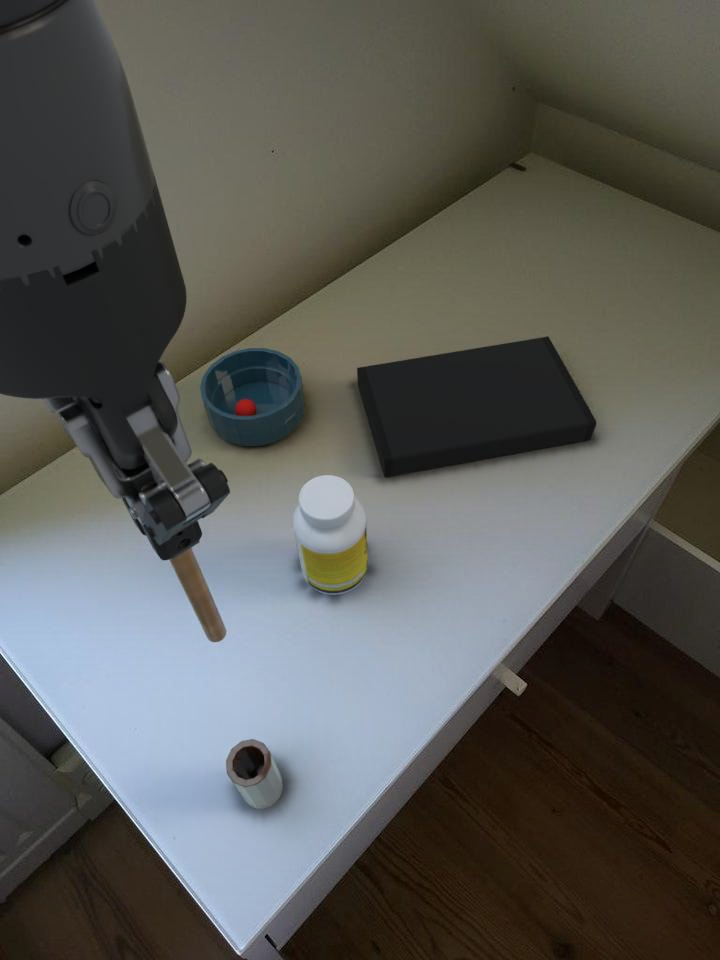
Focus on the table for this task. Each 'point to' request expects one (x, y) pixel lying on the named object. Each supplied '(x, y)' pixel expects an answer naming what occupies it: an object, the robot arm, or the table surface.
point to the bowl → (253, 396)
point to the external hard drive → (472, 405)
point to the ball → (245, 408)
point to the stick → (198, 593)
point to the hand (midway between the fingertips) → (170, 533)
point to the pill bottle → (331, 535)
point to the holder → (254, 773)
